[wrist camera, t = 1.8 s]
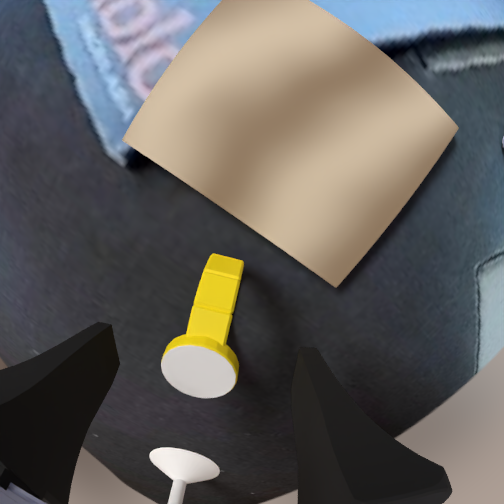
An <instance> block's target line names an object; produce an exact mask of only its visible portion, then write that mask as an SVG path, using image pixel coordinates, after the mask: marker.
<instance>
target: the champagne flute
mask: <svg viewBox="0 0 504 504" xmlns="http://www.w3.org/2000/svg"><path fill="white" fill-rule="evenodd" d="M150 459H151V461H152V462H153V464H154V465H156V466H157V467H158V468H159V469H160V470H161V471H163V472H164V473H165V474H166V475H168V476H169V477H170V478H171V479H173V480H174V481H173V485H172V489H171V493H170V497H169V501H168V504H182V501H183V497H184V492H185V488H186V484H188V483H194V482H199V481H204V480H209V479H213V478H215V477H217V476H218V475H219V472H220V470H219V467H218V466H217V465H216V464H215V463H214V462H213V461H211V460H210V459H208V458H206V457H204V456H202V455H200V454H197V453H194V452H191V451H187V450H183V449H178V448H168V447H167V448H157V449H154V450H153V451H151V452H150Z"/></svg>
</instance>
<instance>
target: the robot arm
mask: <svg viewBox="0 0 504 504" xmlns="http://www.w3.org/2000/svg"><path fill="white" fill-rule="evenodd" d="M502 144H503V148H504V137H503V140H502ZM119 365H120V362H119V357H118V353H117V349H116V344H115V339H114V335H113V330H112V325H111V324H106V323H101V322H98V323H96V324H94V325H92V326H90V327H88V328H86V329H85V330H83V331H81V332H79V333H78V334H76V335H74V336H73V337H71V338H69V339H67V340H66V341H64V342H62V343H61V344H59V345H57V346H55V347H53V348H51V349H50V350H48V351H46V352H44V353H42V354H40V355H38V356H36V357H34V358H32V359H30V360H27V361H25V362H22V363H20V364H17V365H15V366H12V367H8V368H5V369H2V370H0V504H68V502H69V495H70V488H71V483H72V479H73V475H74V470H75V466H76V463H77V459H78V456H79V453H80V450H81V447H82V444H83V441H84V438H85V436H86V433H87V430H88V428H89V426H90V424H91V422H92V420H93V418H94V417H95V415H96V413H97V411H98V409H99V407H100V406H101V404H102V402H103V400H104V398H105V396H106V395H107V393H108V391H109V389H110V387H111V385H112V383H113V381H114V378H115V376H116V373H117V370H118V368H119ZM291 411H292V419H293V427H294V434H295V442H296V450H297V459H298V504H442V503H444V502H445V501H446V500H447V499H448V498H449V496H450V495H451V493H452V488H451V485H450V482H449V479H448V476H447V474H446V472H445V470H444V468H443V467H442V466H440V465H438V464H436V463H434V462H432V461H430V460H428V459H426V458H424V457H422V456H420V455H418V454H417V453H415V452H413V451H412V450H410V449H409V448H407V447H405V446H404V445H402V444H401V443H399V442H398V441H397V440H395V439H394V438H393V437H392V436H390V435H389V434H388V433H386V432H385V431H384V430H383V429H381V428H380V427H379V426H378V425H377V424H376V423H375V422H373V421H372V420H371V419H370V418H369V417H368V416H367V415H366V414H365V413H364V412H363V411H362V410H361V408H360V407H359V406H358V405H357V404H356V403H355V402H354V400H353V399H352V398H351V397H350V396H349V394H348V393H347V392H346V391H345V389H344V388H343V387H342V385H341V384H340V383H339V381H338V380H337V379H336V377H335V376H334V374H333V373H332V371H331V370H330V368H329V367H328V365H327V364H326V362H325V361H324V359H323V358H322V356H321V354H320V353H319V351H318V350H317V349H316V348H305V347H300V348H299V352H298V357H297V362H296V367H295V371H294V376H293V380H292V385H291Z"/></svg>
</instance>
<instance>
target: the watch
mask: <svg viewBox="0 0 504 504" xmlns="http://www.w3.org/2000/svg"><path fill="white" fill-rule="evenodd" d="M243 266H244V262H243V261H242V260H238V259H234V258H230V257H226V256H222V255H218V254H212V255H211V256H210V258H209V260H208V262H207V264H206V266H205V269H204V272H203V274H202V277H201V280H200V284H199V287H198V290H197V293H196V296H195V300H194V306H193V307H192V311H191V315H190V320H189V324H188V328H187V332H186V334H185V335H181V336H179V337H177V338H175V339H173V340H172V341H171V342H170V343H169V344H168V346H167V348H166V350H165V352H164V355H163V358H162V361H161V367H162V373H163V374H164V376H165V378H166V380H167V381H168V382H169V383H170V384H171V385H172V386H173V387H175V388H176V389H178V390H179V391H181V392H183V393H185V394H188V395H191V396H193V397H200V398H215V397H219V396H222V395H225V394H226V393H228V392H229V391H230V390H232V389H233V387H234V386H235V384H236V382H237V378H238V371H239V362H238V360H237V357H236V355H235V353H234V352H233V351H232V350H231V348H230V347H229V346H227V345H226V341H227V337H228V333H229V328H230V324H231V320H232V314H233V311H234V307H235V303H236V298H237V294H238V289H239V285H240V280H241V276H242V271H243Z"/></svg>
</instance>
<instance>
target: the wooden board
mask: <svg viewBox="0 0 504 504" xmlns="http://www.w3.org/2000/svg"><path fill="white" fill-rule="evenodd" d="M457 130H458V126H457V125H456V124H455V123H454V122H453V120H452V119H451V118H450V117H449V116H448V115H447V114H446V113H445V111H444V110H443V109H442V108H441V107H440V106H439V105H438V104H437V103H436V102H435V101H434V100H433V99H432V97H431V96H430V95H429V94H428V93H427V92H426V91H425V90H424V89H423V88H422V87H421V86H420V85H419V84H418V83H417V82H416V81H414V80H413V79H412V78H411V77H410V76H409V75H408V74H407V73H406V72H405V71H404V70H403V69H402V68H400V67H399V66H398V65H397V64H396V63H395V62H394V61H393V60H391V59H390V58H389V57H388V56H387V55H385V54H384V53H383V52H382V51H381V50H379V49H378V48H377V47H376V46H374V45H373V44H372V43H371V42H369V41H368V40H367V39H365V38H364V37H363V36H361V35H360V34H359V33H357V32H356V31H355V30H353V29H352V28H351V27H349V26H348V25H346V24H345V23H343V22H342V21H341V20H339V19H338V18H336V17H335V16H333V15H332V14H330V13H329V12H327V11H325V10H324V9H322V8H321V7H319V6H317V5H316V4H314V3H312V2H311V1H309V0H222V1H221V2H220V3H219V4H218V5H217V6H216V8H215V9H214V10H213V11H212V12H211V13H210V14H209V16H208V17H207V18H206V19H205V20H204V21H203V23H202V24H201V25H200V26H199V27H198V29H197V30H196V31H195V32H194V33H193V35H192V36H191V37H190V38H189V40H188V41H187V42H186V44H185V45H184V46H183V47H182V49H181V50H180V51H179V53H178V54H177V55H176V57H175V58H174V59H173V61H172V62H171V64H170V65H169V66H168V68H167V69H166V71H165V72H164V73H163V75H162V76H161V78H160V79H159V81H158V82H157V84H156V85H155V87H154V88H153V90H152V91H151V93H150V94H149V96H148V97H147V99H146V101H145V102H144V104H143V105H142V107H141V109H140V110H139V112H138V113H137V115H136V117H135V118H134V120H133V122H132V124H131V125H130V127H129V129H128V130H127V132H126V134H125V136H124V138H123V139H122V141H124V142H125V143H127V144H128V145H130V146H131V147H133V148H134V149H136V150H137V151H139V152H140V153H142V154H143V155H145V156H146V157H148V158H149V159H151V160H152V161H154V162H155V163H157V164H158V165H160V166H161V167H163V168H164V169H166V170H167V171H169V172H170V173H172V174H173V175H175V176H176V177H178V178H179V179H181V180H182V181H184V182H185V183H187V184H188V185H190V186H191V187H193V188H194V189H196V190H197V191H198V192H200V193H201V194H203V195H204V196H206V197H207V198H209V199H210V200H212V201H213V202H215V203H216V204H217V205H219V206H220V207H222V208H223V209H225V210H226V211H228V212H229V213H231V214H232V215H233V216H235V217H236V218H238V219H239V220H241V221H242V222H244V223H245V224H246V225H248V226H249V227H251V228H252V229H254V230H255V231H256V232H258V233H259V234H261V235H262V236H264V237H265V238H267V239H268V240H269V241H271V242H272V243H274V244H275V245H276V246H278V247H279V248H281V249H282V250H284V251H285V252H286V253H288V254H289V255H291V256H292V257H293V258H295V259H296V260H298V261H299V262H301V263H302V264H303V265H305V266H306V267H308V268H309V269H310V270H312V271H313V272H315V273H316V274H317V275H319V276H320V277H322V278H323V279H324V280H326V281H327V282H329V283H330V284H331V285H333V286H334V287H337V286H338V285H339V284H340V283H341V282H342V281H343V279H344V278H345V277H346V276H347V275H348V274H349V273H350V271H351V270H352V269H353V268H354V267H355V266H356V264H357V263H358V262H359V261H360V260H361V259H362V257H363V256H364V255H365V254H366V253H367V251H368V250H369V249H370V248H371V247H372V245H373V244H374V243H375V242H376V241H377V239H378V238H379V237H380V236H381V234H382V233H383V232H384V231H385V229H386V228H387V227H388V226H389V224H390V223H391V222H392V221H393V219H394V218H395V217H396V216H397V214H398V213H399V212H400V210H401V209H402V208H403V206H404V205H405V204H406V203H407V201H408V200H409V199H410V197H411V196H412V195H413V193H414V192H415V191H416V189H417V188H418V186H419V185H420V184H421V182H422V181H423V180H424V178H425V177H426V175H427V174H428V173H429V171H430V170H431V168H432V167H433V166H434V164H435V163H436V161H437V160H438V158H439V157H440V156H441V154H442V153H443V151H444V150H445V148H446V147H447V145H448V144H449V142H450V141H451V139H452V138H453V136H454V135H455V133H456V132H457Z"/></svg>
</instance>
